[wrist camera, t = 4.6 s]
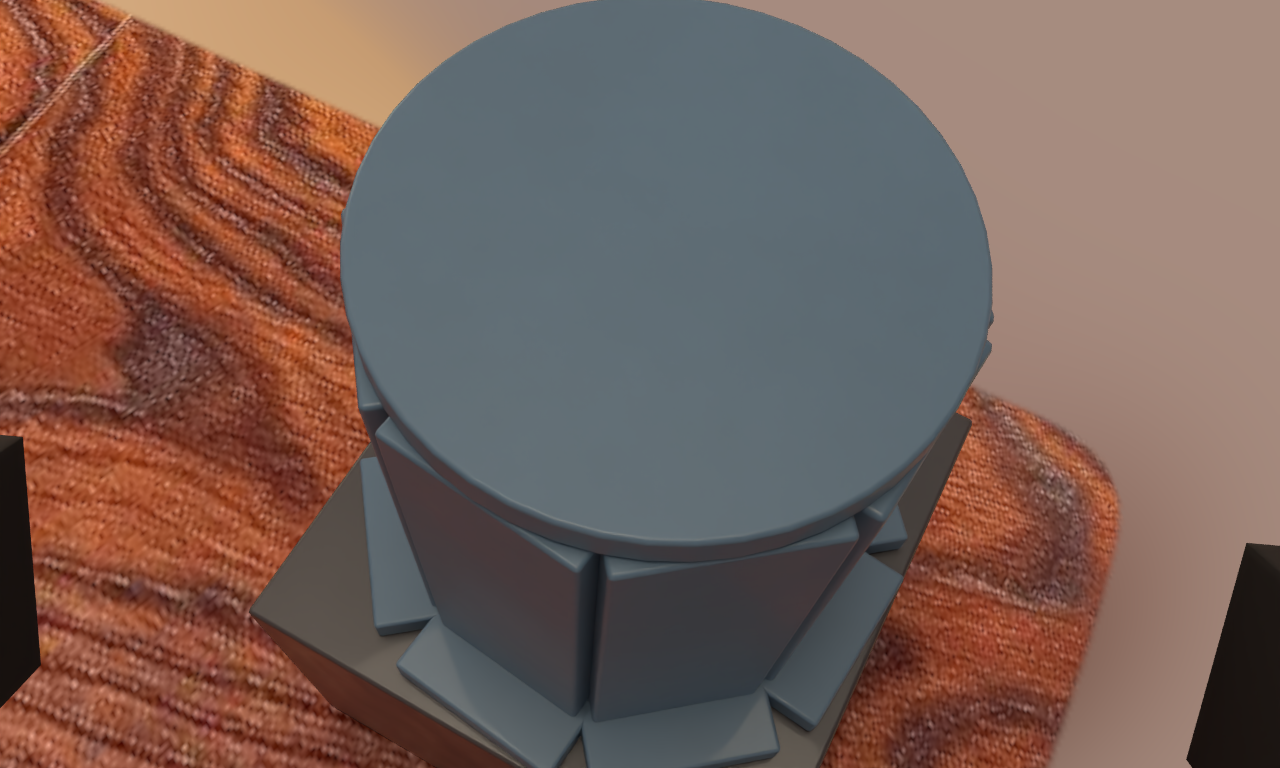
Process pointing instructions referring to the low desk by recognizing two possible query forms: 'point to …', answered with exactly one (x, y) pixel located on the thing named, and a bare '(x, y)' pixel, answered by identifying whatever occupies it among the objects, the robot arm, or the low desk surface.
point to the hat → (651, 372)
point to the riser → (366, 662)
